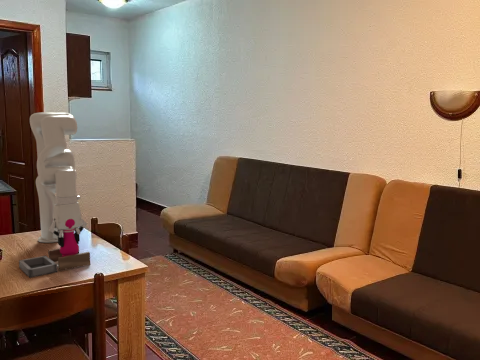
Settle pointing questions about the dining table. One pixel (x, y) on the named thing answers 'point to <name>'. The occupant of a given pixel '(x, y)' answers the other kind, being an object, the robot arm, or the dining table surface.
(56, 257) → the walled lane
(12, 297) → the dining table surface
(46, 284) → the dining table surface
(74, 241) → the pepper mill
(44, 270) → the tray
